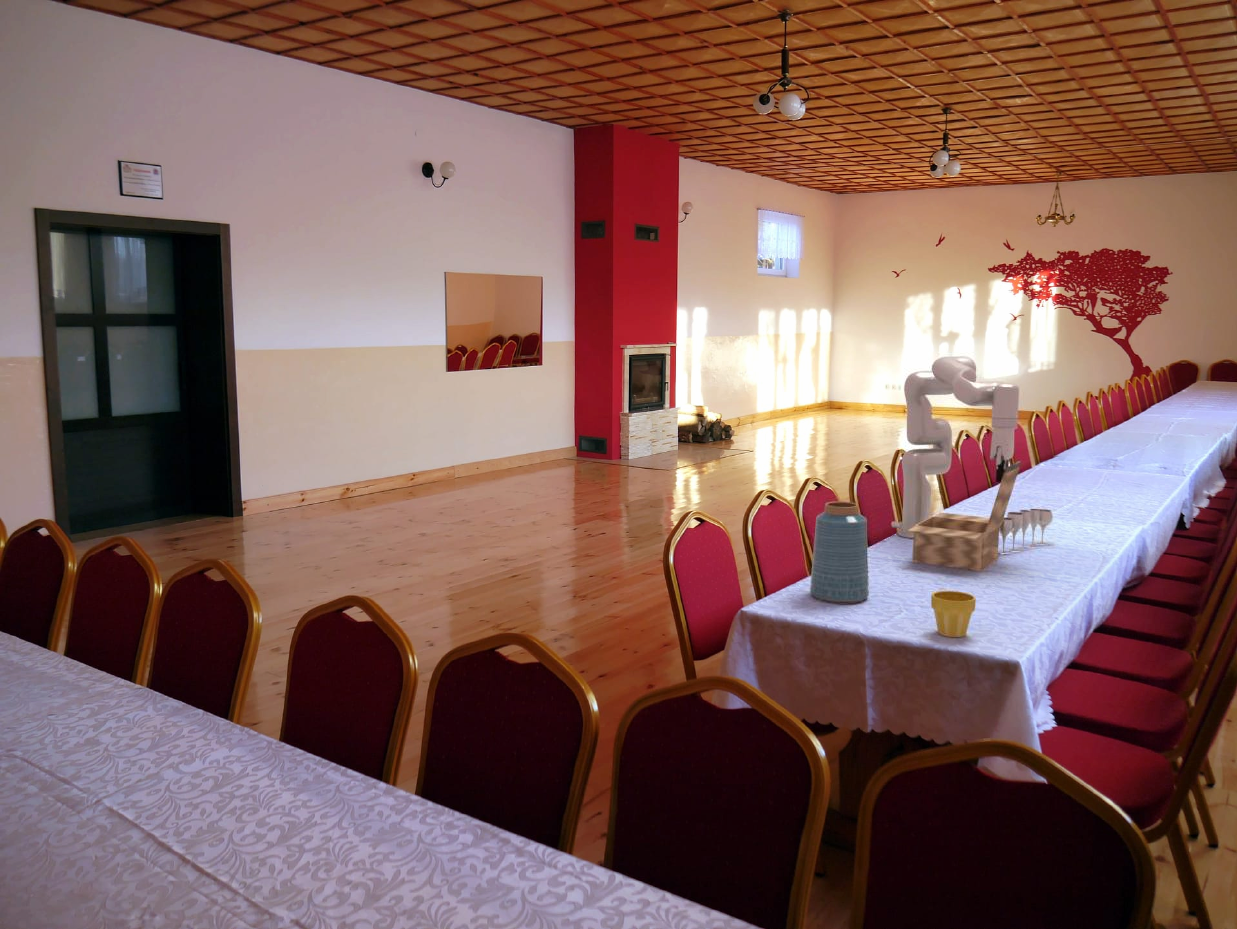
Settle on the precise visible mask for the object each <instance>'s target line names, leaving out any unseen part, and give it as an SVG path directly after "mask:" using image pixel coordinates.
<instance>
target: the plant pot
mask: <svg viewBox="0 0 1237 929" xmlns="http://www.w3.org/2000/svg"><path fill="white" fill-rule="evenodd" d="M930 597H931V598H930V599H931V602H930V604H931V605H930V606H931V608H932V609H933V613H934V618H935V621H936V622H935V623H936V628H937V632H938V634H939V635H941V636H944V637H948V638H964V637H966V635H967V631H968V628H969V624H970V622H971V621H970V620H971V617H972V613H974V612H975V610H976V601H977V600H976V597H975V596H974V595H973V594H971V593H968V592H964V591H958V590H939V591H937V590H936V591H934V592H932V594H931V596H930Z"/></svg>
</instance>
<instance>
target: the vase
mask: <svg viewBox="0 0 1237 929" xmlns="http://www.w3.org/2000/svg"><path fill="white" fill-rule="evenodd" d="M859 512H860V510H859V504H857V503H856V502H851V501H842V500H841V501H829V502H826V503H825V505H824V511H823V512H821V513H820V514H818V515H817V516H816V518H815V530H814V531H815V532H814V539H813V540H814V541H813V553H812V555H813V556H812V563H811V566H812V567H811V574H810V578H811V579H810V587H809V592H810V594H811V595H812V596H813V598H815V599H816V600H818V601H821V602H825V603H826V602H827V603H830V604H831V603H832V604H840V605H841V604H842V605H843V604H844V605H845V604H846V605H847V604H856V603H859V602H862V601H864V600H866V599H867V598H868V597H869V596H870V595H869V594H870V589H869V587H870V586H869V584H870V583H869V577H870V576H869V562H868V561H869V560H868V558H869V557H868V527H867V526H868V524H867V523H868V519H867V517H865V516H863V515H862V514H861V513H859Z"/></svg>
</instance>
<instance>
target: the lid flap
mask: <svg viewBox="0 0 1237 929" xmlns="http://www.w3.org/2000/svg"><path fill="white" fill-rule="evenodd" d="M1021 463H1022V461H1021V460H1019V461H1017V462H1014V463H1013V464H1009V466H1008V467H1006V468H1005V471H1004V474H1003V477H1002V481H1001V482H1000V484H999V487H998V490H997V494H996V497H995V500H994V503H993V507H992V510H991V513H990V516H989V518H990V519H989V522H988V525H987V529H986V532H985V534H988V533H990V532H991V531H993V530H994V529H996V528H997V527H999V526H1000V525H1001V524H1002V521H1003V518H1004V517H1005V514H1006V511H1007V508H1008V505H1009V502H1010V499H1011V495H1012V492H1013V490H1014V487H1015V486H1014V485H1015V483H1016V480H1017V476H1018V473H1019V471H1020V469H1021V468H1020V467H1021V465H1022V464H1021Z"/></svg>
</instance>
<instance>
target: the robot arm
mask: <svg viewBox="0 0 1237 929" xmlns="http://www.w3.org/2000/svg"><path fill="white" fill-rule="evenodd" d="M903 387H904V389H903V391H904V392H903V393H904V397H905V398H904V399H905V402H906V438H907V442H908V443H909V444H910V445H914V446H929V445H932V448H914V449H909V450H906V451H905V452H904V454H903V455H902V456H901V457H902V458H901V467H902V475H903V494H902V495H903V498H902V499H903V501H902V521H900V522H898V521H891V523H890V524H891V527H892V528H894V529H898V530H897V535H898V536H900V537H903V538H907V539H908V538H909V539H914V533H911V532H908V530H909V529H911V528H913V527H914V525H916V524H918V523H920V522H922V521H924V520H926V519H928V518H929V517H931V504H932V502H931V501H932V488H931V484H930V482H929V480H928V479H927V476H931V475H933V476H935V475H936V476H937V475H943V474H946V473H947V472H949V471H950V468H951V465H952V452H953V451H952V449H953V448H952V447H953V432H952V426H951V424H950V423H949V421H948V420H946V419H945V418H942V417H935V418H934V417H932V412H933V411H932V410H933V406H932V404H931V402H930V399H929V398H928V397H927V396H943V395H944V396H945V395H952V394H953V395H954V397H955V399H956V400H957V401H959V402H961V403H962V404H964V405H967V406H970V407H984V406H990V407H991V429H992V435H991V442H990V456H989V458H990V460H992V461H994V460H995V461H996V463H995V464H996V469H995V471H996V472H995V482H996V483H1001V481H1002V477H1003V474H1004V471H1005V468H1006V467H1008V466H1010V459H1012V458H1013V457H1014V453H1015V452H1014V451H1015V430H1017V429H1018V421H1019V419H1018V418H1019V402H1020V398H1019V397H1020V388H1019V386H1018V384H1016V383H1005V382H1003V381H1002V382H1001V381H977V365H976V363H975V361H974V360H973V358H971V357H969V356H965V355H963V356H942V357H939V358H937V359H936V360H935V361H934V362H933V364H932V365H931V370H921V371H915V372H913V373H910V374H909V375H907V377H906V379H905V381H904V386H903Z"/></svg>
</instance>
